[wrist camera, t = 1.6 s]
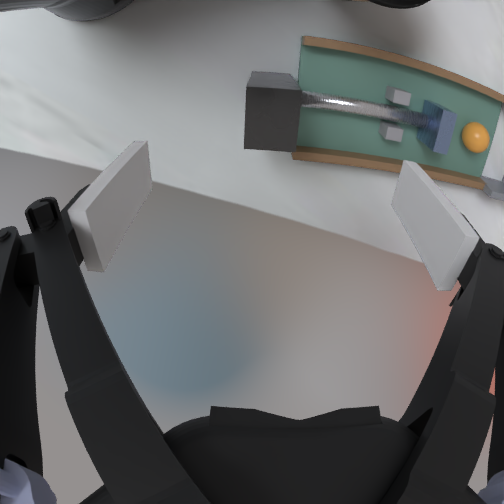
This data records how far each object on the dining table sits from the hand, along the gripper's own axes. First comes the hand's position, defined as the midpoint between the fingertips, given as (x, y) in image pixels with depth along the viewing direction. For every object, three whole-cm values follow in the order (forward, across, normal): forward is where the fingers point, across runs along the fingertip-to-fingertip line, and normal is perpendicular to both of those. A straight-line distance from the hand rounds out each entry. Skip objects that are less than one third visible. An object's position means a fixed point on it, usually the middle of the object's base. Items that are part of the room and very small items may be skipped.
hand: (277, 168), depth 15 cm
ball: (+18, +26, 0) cm, 32 cm away
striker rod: (+20, +9, 0) cm, 22 cm away
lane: (+21, +17, 0) cm, 27 cm away
